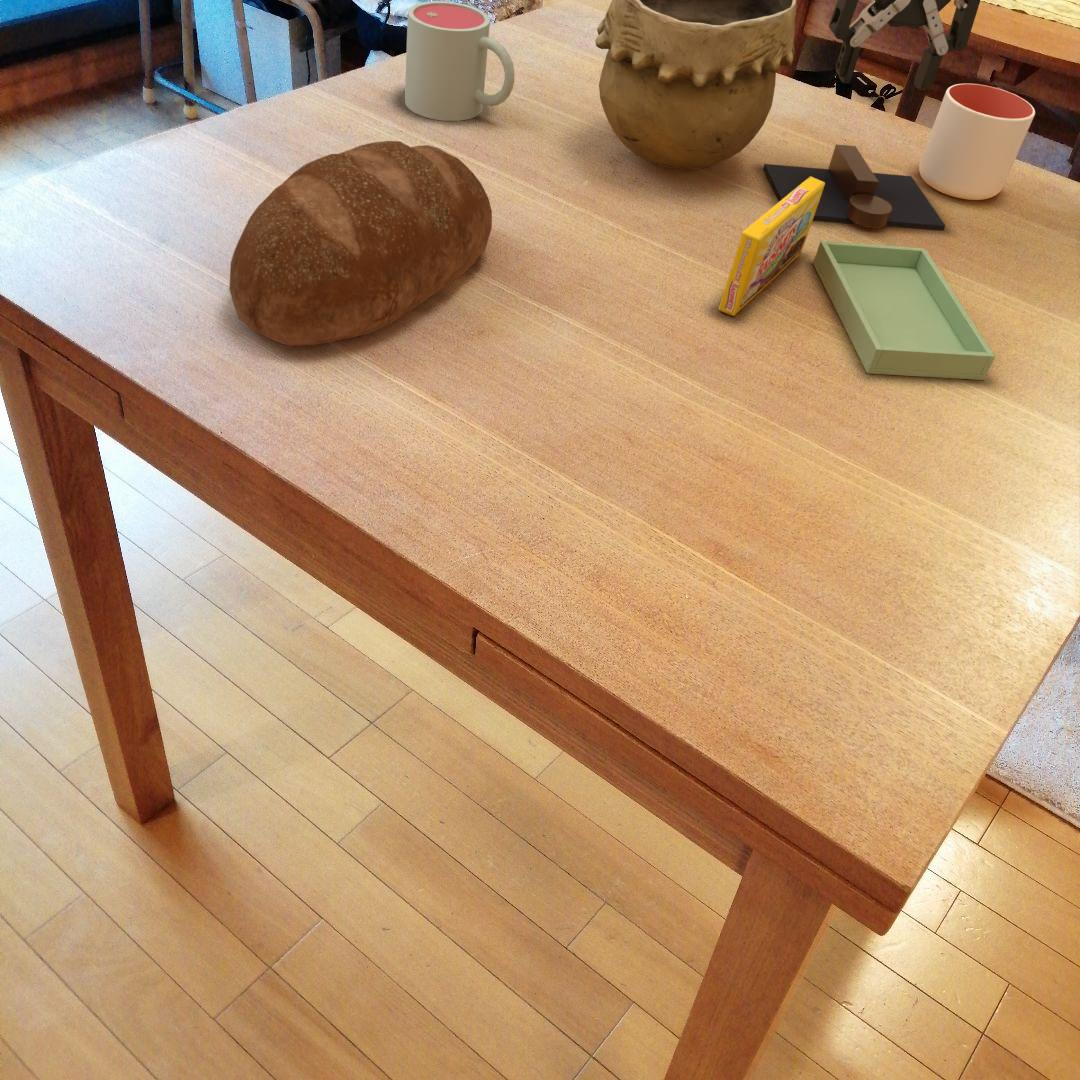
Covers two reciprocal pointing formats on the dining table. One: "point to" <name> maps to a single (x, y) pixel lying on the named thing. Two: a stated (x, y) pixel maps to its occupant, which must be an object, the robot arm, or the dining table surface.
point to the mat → (832, 206)
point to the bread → (357, 242)
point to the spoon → (858, 187)
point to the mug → (451, 61)
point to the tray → (901, 312)
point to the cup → (975, 141)
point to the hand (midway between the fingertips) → (882, 83)
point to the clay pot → (692, 74)
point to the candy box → (771, 245)
